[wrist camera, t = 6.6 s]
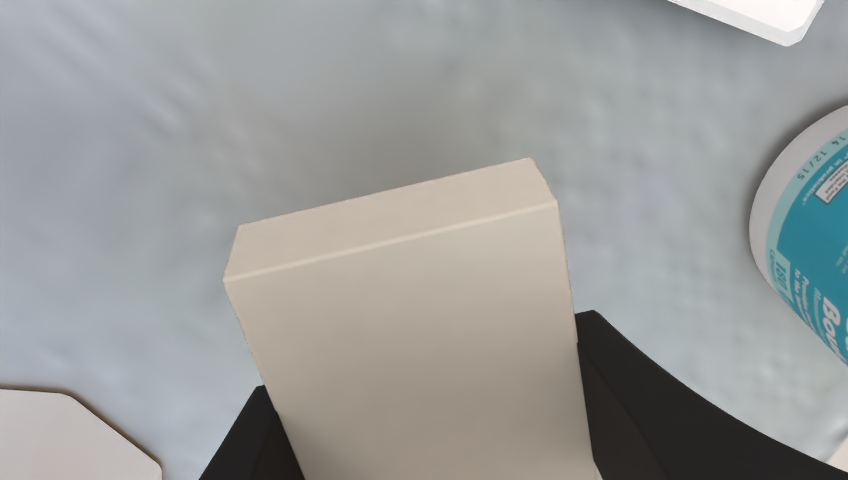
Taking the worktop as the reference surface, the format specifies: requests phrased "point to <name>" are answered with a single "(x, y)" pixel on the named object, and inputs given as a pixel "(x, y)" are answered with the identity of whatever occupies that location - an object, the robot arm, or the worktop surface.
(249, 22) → the worktop surface
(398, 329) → the beige rectangular block
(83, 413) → the cup
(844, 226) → the pill bottle
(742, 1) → the plate
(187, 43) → the worktop surface
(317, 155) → the worktop surface
